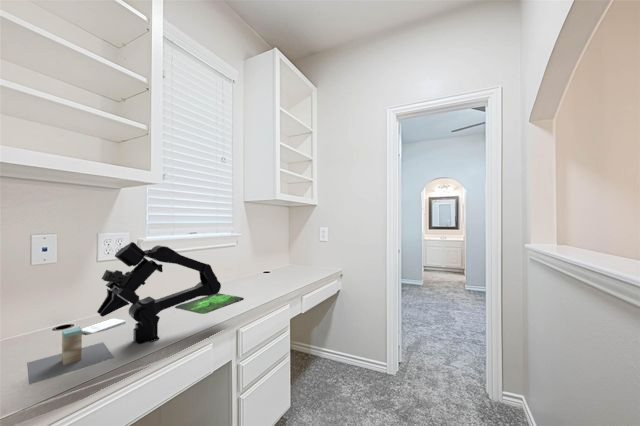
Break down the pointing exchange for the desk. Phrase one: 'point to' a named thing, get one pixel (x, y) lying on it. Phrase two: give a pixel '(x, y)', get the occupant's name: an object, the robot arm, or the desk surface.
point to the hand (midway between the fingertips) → (99, 314)
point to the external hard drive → (103, 326)
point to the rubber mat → (55, 366)
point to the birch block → (71, 345)
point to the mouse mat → (209, 303)
